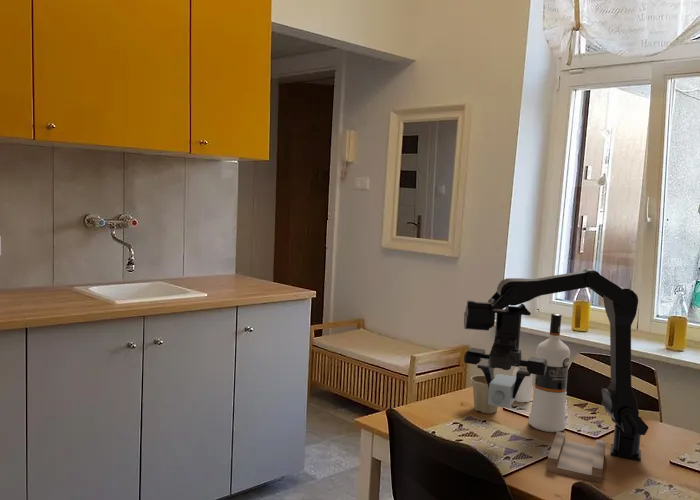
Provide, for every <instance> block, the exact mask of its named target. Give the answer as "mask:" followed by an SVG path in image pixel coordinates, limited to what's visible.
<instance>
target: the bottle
mask: <svg viewBox="0 0 700 500" xmlns="http://www.w3.org/2000/svg"><path fill="white" fill-rule="evenodd" d="M494 377H495V378H494V379H493V380H492V381H491V382H490V383H489V396H488V404H489V405H494V406H498V407H500V408H506V409H510V408H511V407H512V405H513V404H514V402H516V401H515V399H516V398H517V395H516V397H515V399H513V391H514V386H515V381H516V377H514V376H512V375H506V374H502V373H497V374H496V375H495V376H494Z"/></svg>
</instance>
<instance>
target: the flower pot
mask: <svg viewBox="0 0 700 500" xmlns="http://www.w3.org/2000/svg"><path fill="white" fill-rule="evenodd" d="M495 377H496V376H494V378H495ZM470 381H471V385H472V389H473V390H472V391H473V392H472V393H473V405H474V406H473V407H474V410H475V411H476V412H481V413H483V414H494V413H497V412H498V408H499V406H494V405H489V404H488V396H489V388H488V384H487V380H486V377H485V375H484V374H483V375H481V374H480V375H479V374H478V375H473V376H471V377H470Z"/></svg>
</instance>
